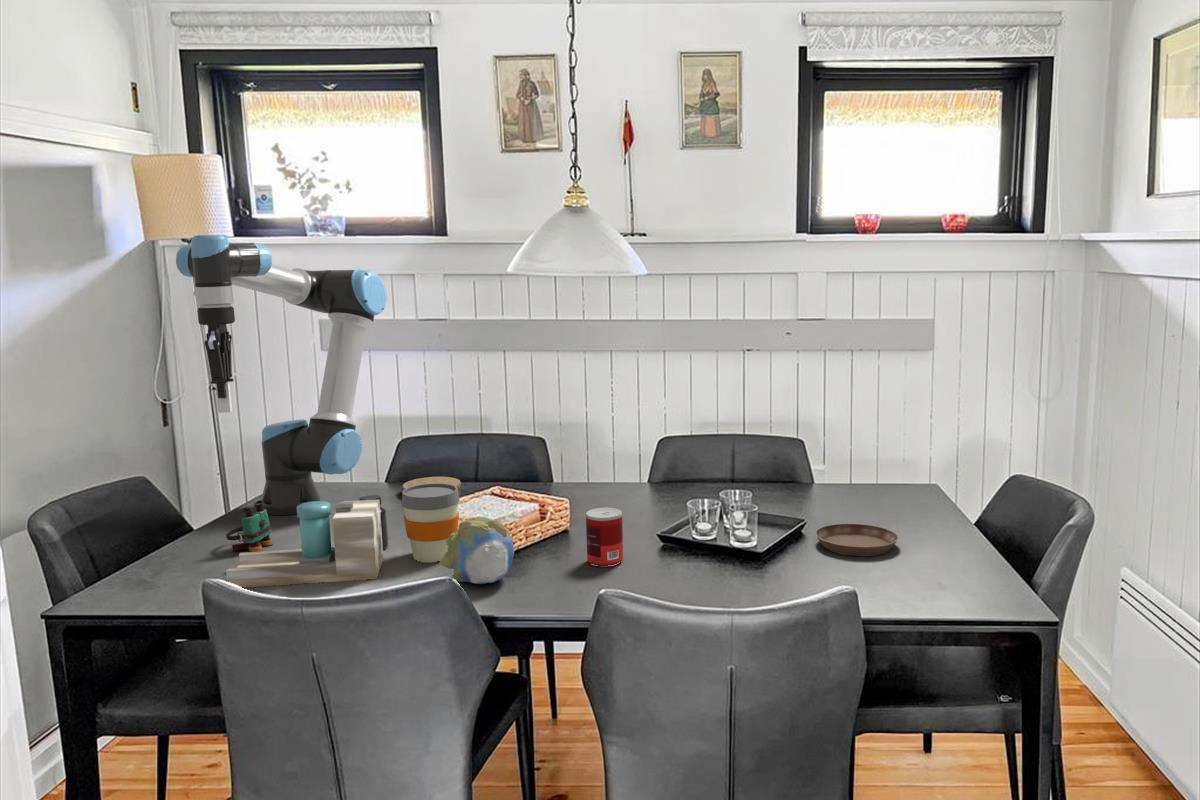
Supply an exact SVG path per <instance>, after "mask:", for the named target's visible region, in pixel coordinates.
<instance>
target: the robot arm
mask: <svg viewBox="0 0 1200 800" xmlns="http://www.w3.org/2000/svg"><path fill="white" fill-rule="evenodd" d="M190 242H191V243H190V244H187V245H183V246H181V247H180V248H179V249H178V251H177V252H176V256H175V265H176V267H177V270H178V271H179V273H180V274H181V275H183V276H185V277H189V278H194V287H195V291H193V296H195V298H196V305H198V306H199V307H198V308H197V311H196V312H197V321H198V324H199V325H201V326H207V333H206V335H205V337H206V339H205V340H204V343H203V344H204V346H205V349H206V353H207V354H206V355H207V360H208V366H209V372H210V378H211V381H210V384H211V385H215V396H216V406H217V413H218V414H219V413H231V412H233V405H232V404H233V403H232V395H231V394H232V393H231V383H232V382H234V378H232V377H233V370H232V369H233V368H232V366H233V365H232V364H233V363H232V341H233V339H232V338H233V337H232V335H231V334H230V331H228V328H227V327H228V326H227V325H229V324H234V323H235V322H236V315H235V307H233V306H232V304H234V294H233V293H234V292H233V286H235V287H240V288H244V289H247V290H248V289H249V290H251V291H254V292H259V293H263V294H267V295H271V296H275V297H278V298H283V300H285V302H286V303H288V304H290V305H295V306H297V307H300V308H304V309H307V310H311V311H315V312H318V313H322V314H328V315H327V317H328V319H329V320H330V321H331V322H332V326H331V327H332V328H331V333H330V337H329V344H328V349H327V356H326V362H325V368H324V372H323V379H322V384H321V389H320V395H319V400H318V406H317V412H316V413H315V414H313V415H312V416H311V417H309V423H308V420H307V419H304V418H303V419H302V418H301V419H293V420H292V419H291V420H285V421H280V422H276V423H272V424H268V425H265V426H264V427H263V429H262V430H261V431H262V432H261V447H262V449H261V450H262V457H263V467H264V468H263V469H264V477H265V479H264V480H265V483H264V487H263V491H262V493H261V494H262V495H261V499H260V500H263V502H264V505H263V509H266V511H267V514H268V515H272V516H289V515H297V506H298V505H300V504H302V503H306V502H313V501H321V496H320V493H319V491H318V488H317V486H316V484H315V482H314V479H313V476H312V473H318V474H319V473H320V474H327V475H343V474H346V473H349V472H350V471H351V470H352V469H353V468H354V467H356V465H357V463H358V462H359V461H360V458H361V455H362V450H363V442H362V441H361V440H362V438H361V435H360V434H359V432H358V431H356V428H357V424H356V422H355V421H354V420H353V418H352V417H353V416H352V415H353V410H354V404H355V397H356V392H357V385H358V380H359V375H360V367H361V362H362V357H363V351H364V350H363V349H364V344H365V338H366V332H367V329H368V328H370V327H371V326H372V325H374V321H375V316H376V315H377V316H378V315H379V314H380V315H381V313H382V312H383V311H384V310H385V307H386V306H387V305H386V304H387V290H386V287H385V284H384V281H383V280H382V278H381V277H380V275H378V274H377V273H376V272H375V271H372V270H368V269H359V268H356V269H336V270H335V269H334V270H331V269H323V270H322V269H321V270H308V269H302V268H293V269H290V268H285V267H283V266H279V265H275V264H273V258H272V257H273V256H272V252H271V251H270V249H269V248H268V247H267V246H266V245H265V244H263V243H259V242H258V243H257V242H256V243H255V242H244V243H243V242H241V243H239V242H238V243H229V240H228V236H227V235H225V234H197V235H194V236H192V238H191V241H190Z"/></svg>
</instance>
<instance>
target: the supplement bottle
mask: <svg viewBox="0 0 1200 800" xmlns="http://www.w3.org/2000/svg"><path fill="white" fill-rule="evenodd" d="M358 499H359V500H358V501H361V500H379V499H380V515H381V530H382V545H383V551H384V550H386V549H388V547H389V543H390V542H389V528H388V526H389V525H388V513H387V510H386V509H385V507H383V506H382V504H383V503H382V496H381V495H378V494H369V495H368V494H366V495H364V496H361V497H359V498H358Z"/></svg>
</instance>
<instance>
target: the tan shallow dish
mask: <svg viewBox="0 0 1200 800" xmlns="http://www.w3.org/2000/svg"><path fill="white" fill-rule="evenodd" d="M431 483H443V484H451V485H454V486H456V487H457V488H458V494H459V495H460V494H461V493H462V482H461V480H460V479H458V478H456V477H450V476H430V477H429V476H428V477H420V478H415V479H411V480H408V481H406V482H404V483H403V484H402V491H403V490H405V489H406V488H409V487H412V486H416V485H421V484H431Z"/></svg>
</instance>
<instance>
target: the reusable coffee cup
mask: <svg viewBox="0 0 1200 800" xmlns="http://www.w3.org/2000/svg"><path fill="white" fill-rule="evenodd" d="M459 495H460V494H458V488H457V487H456V486H454V485H451V484H443V483H431V484H421V485H416V486H412V487H409V488H406V489H405V490H403V489H402V492H401V506H402V507H403V511H404V515H403V520H404V525H405V530H406V531H405V532H406V537H407V538H408V539H409V543H410V547H411V551H412V552H411V553H412V557H413V559H414V561H416V560H417V562H419V561H420V562H419V563H438V562H437V561H440V558H442V557H444V554H445V552H448V547H449V546H448V545H447V543H446V540H447V539H448V538H449V537H450V535H451V534H452V533H456V532H457V530H458V528H459V519H460V518H459V517H460V512H459V511H458V506H459V503H460V496H459Z"/></svg>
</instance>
